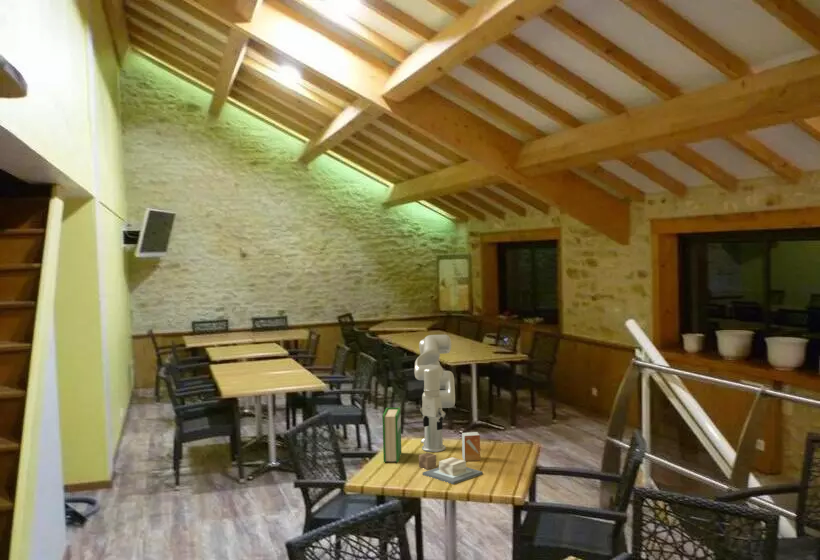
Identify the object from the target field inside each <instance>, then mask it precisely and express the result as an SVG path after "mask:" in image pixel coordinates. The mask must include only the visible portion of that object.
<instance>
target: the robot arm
mask: <svg viewBox="0 0 820 560" xmlns="http://www.w3.org/2000/svg"><path fill="white" fill-rule="evenodd" d="M418 349H419V353H420V355H418V356H417V358H416V360H415V361H414V370H413V372H414V377H415V379H416V380H418V381H423V383H424V384H423V385H424V386H423V393H422V395H421V401H422V403H421V404H422V407H420V408H419V410H420V415H421V416H422V419H423V421H422V422H423V423H422V425H423V427H424V438H421V440H420V443H422V444H423V445H422V446H421V450H423V451H424V452H427V453H437V452H443V451H445V450H446V448H447V447H446V445H445V444H444V443H443V427H444V426H443V422H444V420H445V417H446V411H443V409H447V408H448V409H450V408H451V409H452V408H454V407H455V404H456V389H455V385H456V384H455V377H454V373H453V372H452V371H450V370H444V368H443V367H442V365H441V363H440V361H439V359H440V358H441V357H440V356H441V355H442V354H449V353H451V350H452V339H451V337H450V336H449V334H429V335H426V336H425V337H424V338H423V339H420V341H419V343H418ZM440 354H441V355H440Z"/></svg>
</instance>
